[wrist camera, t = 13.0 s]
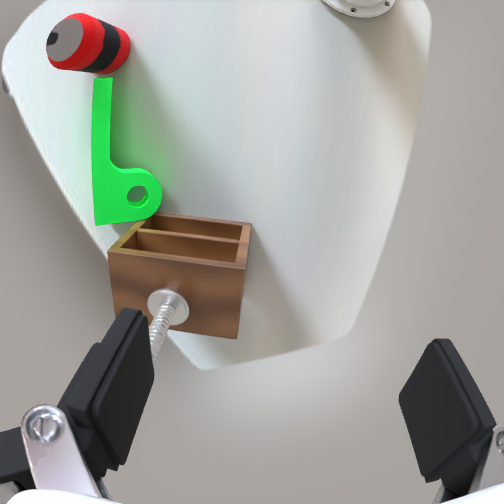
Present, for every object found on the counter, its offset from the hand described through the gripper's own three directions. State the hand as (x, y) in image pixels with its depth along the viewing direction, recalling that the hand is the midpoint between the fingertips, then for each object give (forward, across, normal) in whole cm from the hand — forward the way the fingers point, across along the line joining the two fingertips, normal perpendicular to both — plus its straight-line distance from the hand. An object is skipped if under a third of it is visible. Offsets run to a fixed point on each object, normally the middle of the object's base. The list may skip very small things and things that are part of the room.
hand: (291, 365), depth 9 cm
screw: (+22, +10, +14) cm, 28 cm away
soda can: (+36, +26, -16) cm, 48 cm away
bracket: (+36, +21, -1) cm, 42 cm away
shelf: (+36, +10, +14) cm, 40 cm away
